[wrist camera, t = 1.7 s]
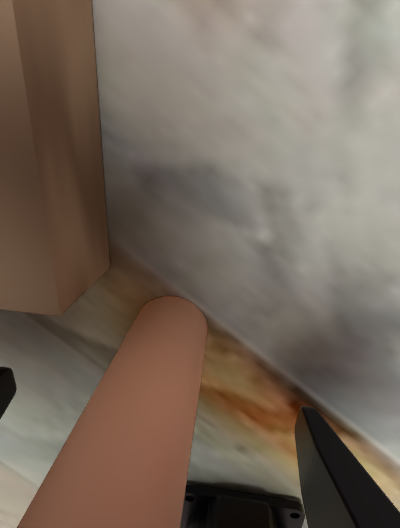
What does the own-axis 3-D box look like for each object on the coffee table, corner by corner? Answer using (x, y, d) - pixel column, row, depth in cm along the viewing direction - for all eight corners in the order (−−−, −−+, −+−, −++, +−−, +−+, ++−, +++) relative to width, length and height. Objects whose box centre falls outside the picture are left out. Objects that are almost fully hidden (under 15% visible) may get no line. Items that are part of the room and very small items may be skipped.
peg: (205, 360, 12) (148, 781, 4) (138, 352, 13) (-42, 736, 4) (210, 300, 11) (145, 717, 3) (136, 292, 12) (-111, 660, 3)
